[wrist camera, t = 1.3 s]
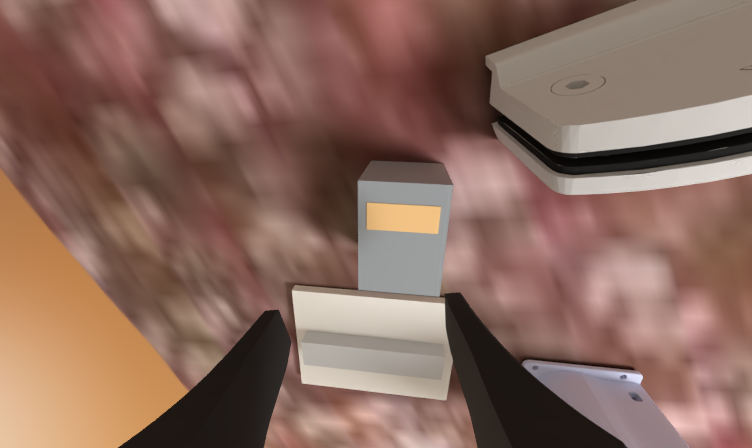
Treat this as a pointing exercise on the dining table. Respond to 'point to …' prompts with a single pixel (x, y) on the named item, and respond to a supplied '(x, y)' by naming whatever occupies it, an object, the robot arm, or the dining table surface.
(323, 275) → the dining table surface
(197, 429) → the robot arm
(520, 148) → the light grey flat block
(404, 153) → the dining table surface
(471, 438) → the dining table surface
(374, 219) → the module
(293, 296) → the rail board
